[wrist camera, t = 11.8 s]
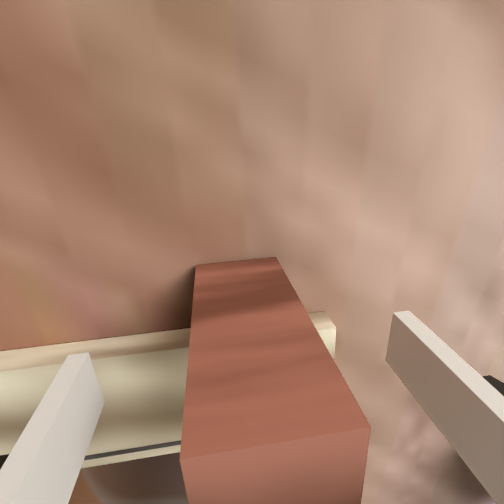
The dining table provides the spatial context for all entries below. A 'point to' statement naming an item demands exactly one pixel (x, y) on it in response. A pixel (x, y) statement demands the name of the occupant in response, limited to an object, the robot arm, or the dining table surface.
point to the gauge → (265, 397)
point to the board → (115, 390)
